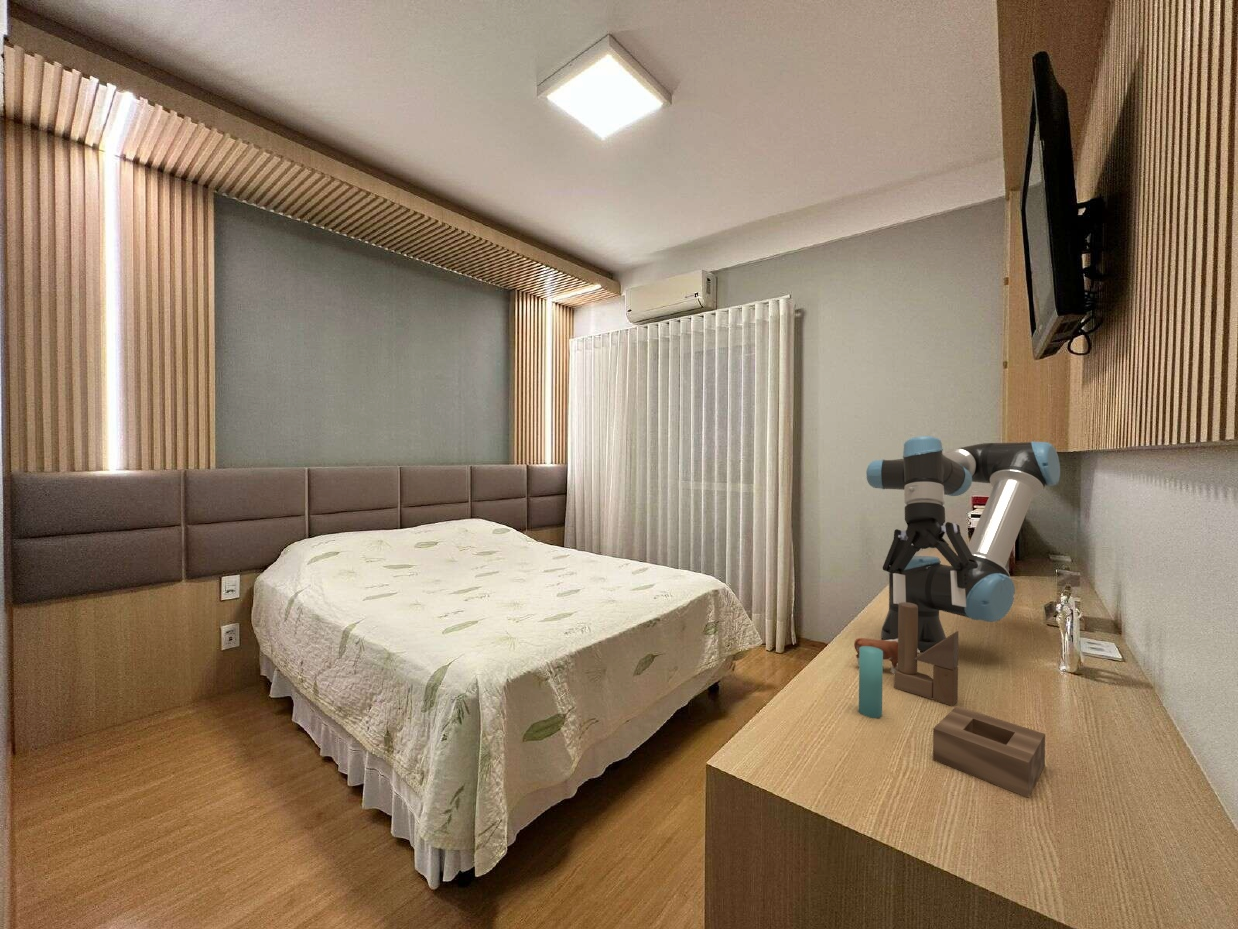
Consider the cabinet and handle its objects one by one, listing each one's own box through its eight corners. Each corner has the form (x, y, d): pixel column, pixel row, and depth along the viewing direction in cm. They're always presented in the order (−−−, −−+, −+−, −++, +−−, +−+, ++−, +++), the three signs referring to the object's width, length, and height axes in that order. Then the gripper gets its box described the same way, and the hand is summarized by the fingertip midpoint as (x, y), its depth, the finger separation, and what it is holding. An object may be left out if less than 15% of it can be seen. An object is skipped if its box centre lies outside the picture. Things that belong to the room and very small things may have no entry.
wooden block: (952, 707, 98) (954, 615, 98) (893, 688, 106) (894, 603, 106) (958, 701, 101) (959, 611, 101) (899, 683, 108) (901, 600, 108)
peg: (863, 705, 98) (864, 644, 98) (885, 713, 95) (886, 650, 95) (854, 712, 95) (855, 649, 95) (876, 720, 92) (877, 655, 92)
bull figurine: (921, 679, 110) (921, 643, 110) (854, 671, 115) (855, 635, 115) (916, 672, 115) (917, 636, 115) (852, 663, 119) (852, 629, 119)
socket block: (956, 734, 88) (956, 705, 88) (1044, 765, 79) (1045, 734, 79) (932, 759, 80) (933, 728, 80) (1028, 798, 71) (1028, 762, 71)
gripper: (865, 510, 120) (865, 601, 113) (966, 490, 97) (973, 603, 90) (890, 517, 122) (891, 606, 115) (994, 499, 99) (1003, 609, 92)
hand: (927, 605), depth 103 cm, fingers open, 13 cm apart
